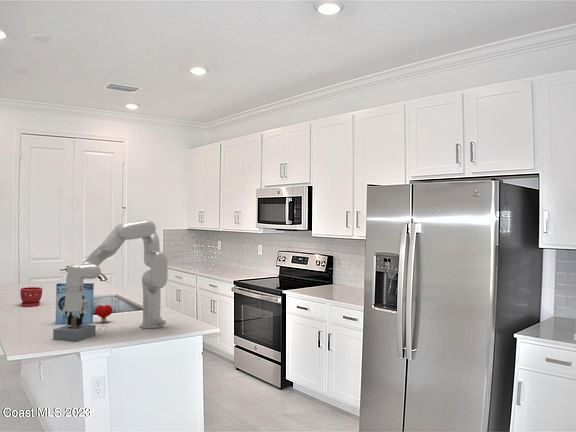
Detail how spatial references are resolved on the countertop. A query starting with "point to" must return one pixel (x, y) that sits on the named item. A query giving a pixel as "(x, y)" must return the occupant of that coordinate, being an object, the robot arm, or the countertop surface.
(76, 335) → the socket block
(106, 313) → the red piece
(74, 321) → the peg
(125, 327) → the countertop surface
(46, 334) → the countertop surface
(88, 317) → the gum box
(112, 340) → the countertop surface
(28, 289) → the plant pot
